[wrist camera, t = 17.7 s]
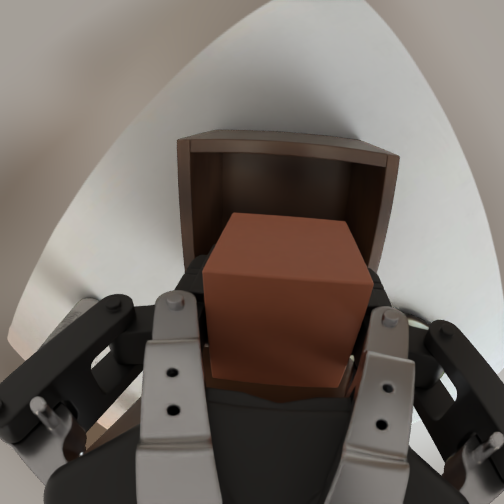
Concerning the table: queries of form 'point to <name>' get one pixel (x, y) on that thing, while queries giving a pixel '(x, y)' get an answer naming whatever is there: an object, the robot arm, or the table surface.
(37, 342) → the table surface
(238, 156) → the box
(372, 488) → the robot arm
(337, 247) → the block
